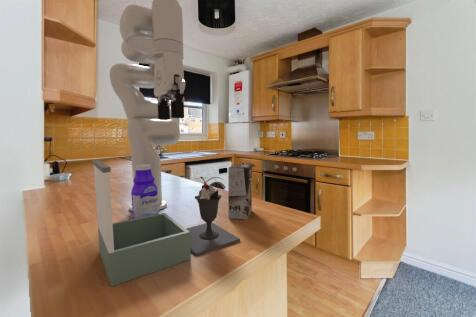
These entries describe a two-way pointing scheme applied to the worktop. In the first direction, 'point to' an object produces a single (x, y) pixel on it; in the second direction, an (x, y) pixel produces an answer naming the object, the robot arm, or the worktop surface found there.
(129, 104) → the robot arm
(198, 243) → the mat
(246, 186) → the coffee box
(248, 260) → the worktop surface
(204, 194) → the sundae
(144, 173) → the bottle
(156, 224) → the open box
